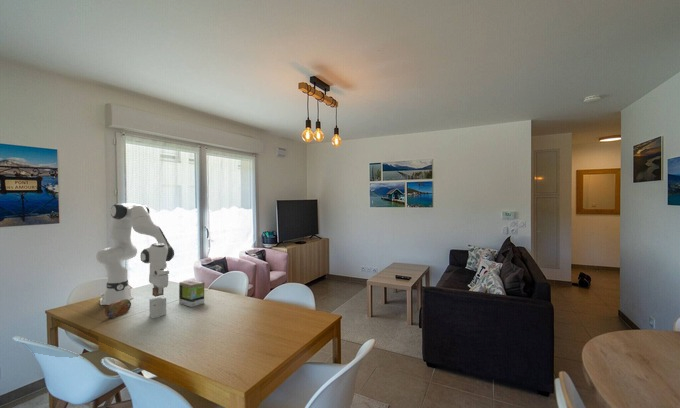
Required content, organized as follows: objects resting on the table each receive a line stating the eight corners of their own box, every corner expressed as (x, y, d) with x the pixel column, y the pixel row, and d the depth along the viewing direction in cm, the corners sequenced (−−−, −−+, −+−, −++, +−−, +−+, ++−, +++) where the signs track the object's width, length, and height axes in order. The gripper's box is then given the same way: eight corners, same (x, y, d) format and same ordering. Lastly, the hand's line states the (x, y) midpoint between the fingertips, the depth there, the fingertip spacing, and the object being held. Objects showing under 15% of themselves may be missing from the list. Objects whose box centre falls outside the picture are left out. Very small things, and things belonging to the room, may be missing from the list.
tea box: (204, 303, 198) (205, 281, 198) (190, 307, 190) (190, 285, 190) (192, 299, 206) (192, 278, 206) (178, 303, 198) (178, 282, 198)
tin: (108, 319, 169) (108, 305, 169) (103, 319, 170) (103, 305, 170) (131, 310, 184) (131, 297, 184) (127, 310, 185) (127, 297, 185)
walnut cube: (152, 295, 176) (152, 287, 176) (160, 293, 179) (160, 286, 179) (155, 296, 173) (155, 289, 173) (163, 294, 177) (163, 287, 177)
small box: (164, 312, 181) (164, 295, 181) (166, 314, 177) (166, 297, 177) (149, 315, 175) (149, 298, 175) (151, 318, 171) (151, 300, 171)
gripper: (146, 268, 180) (146, 290, 180) (158, 273, 168) (158, 297, 168) (157, 266, 185) (157, 288, 185) (170, 271, 173) (170, 294, 173)
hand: (158, 292), depth 176 cm, fingers closed on walnut cube, 4 cm apart
